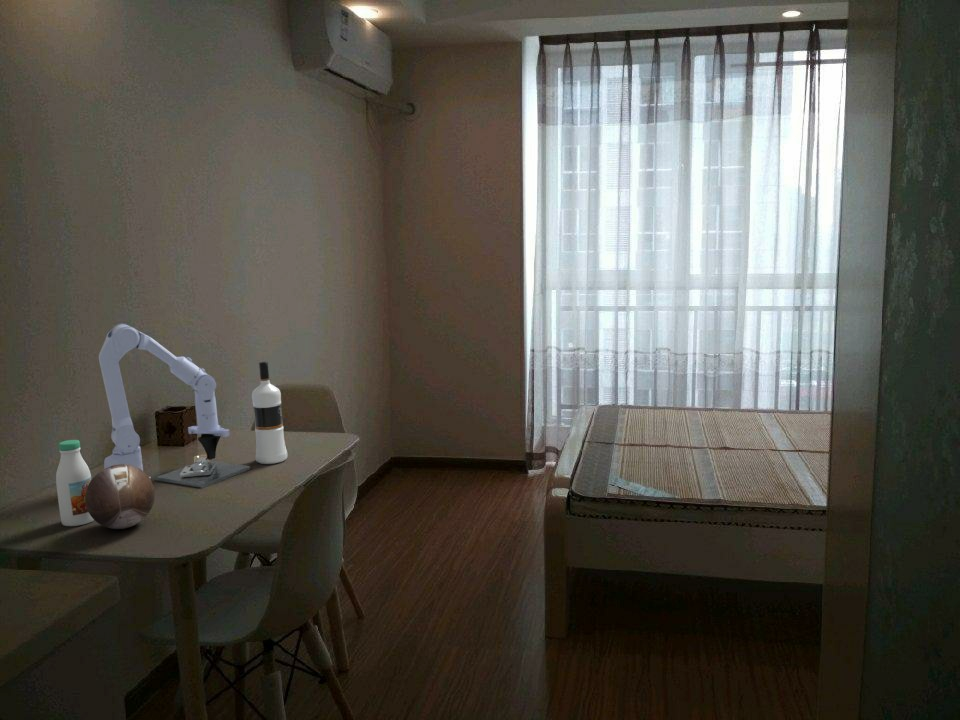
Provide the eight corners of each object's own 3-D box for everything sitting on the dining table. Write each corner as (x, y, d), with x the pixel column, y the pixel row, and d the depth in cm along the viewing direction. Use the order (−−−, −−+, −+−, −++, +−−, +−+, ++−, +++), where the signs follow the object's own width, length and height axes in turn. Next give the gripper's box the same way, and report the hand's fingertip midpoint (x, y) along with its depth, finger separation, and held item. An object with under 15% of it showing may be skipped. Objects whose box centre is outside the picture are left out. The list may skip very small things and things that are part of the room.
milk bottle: (60, 529, 194) (49, 447, 190) (62, 519, 201) (52, 440, 197) (96, 523, 197) (86, 443, 193) (97, 513, 204) (87, 435, 200)
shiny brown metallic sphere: (106, 543, 183) (97, 479, 181) (78, 529, 193) (70, 468, 191) (169, 524, 194) (162, 463, 192) (140, 511, 204) (133, 453, 202)
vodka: (251, 460, 246) (242, 362, 241) (281, 454, 251) (272, 358, 246) (262, 466, 238) (253, 365, 233) (292, 460, 243) (284, 361, 238)
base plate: (201, 488, 221) (200, 475, 220) (156, 480, 229) (155, 468, 229) (250, 469, 236) (249, 457, 236) (206, 463, 245) (204, 451, 244)
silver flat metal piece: (210, 474, 228) (209, 467, 228) (180, 477, 227) (179, 470, 227) (219, 460, 243) (218, 453, 243) (191, 462, 242) (190, 455, 242)
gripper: (235, 412, 239) (239, 457, 241) (199, 409, 245) (203, 453, 247) (217, 417, 232) (222, 463, 235) (180, 414, 239) (185, 459, 241)
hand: (211, 458), depth 241 cm, fingers closed, pressing on silver flat metal piece
